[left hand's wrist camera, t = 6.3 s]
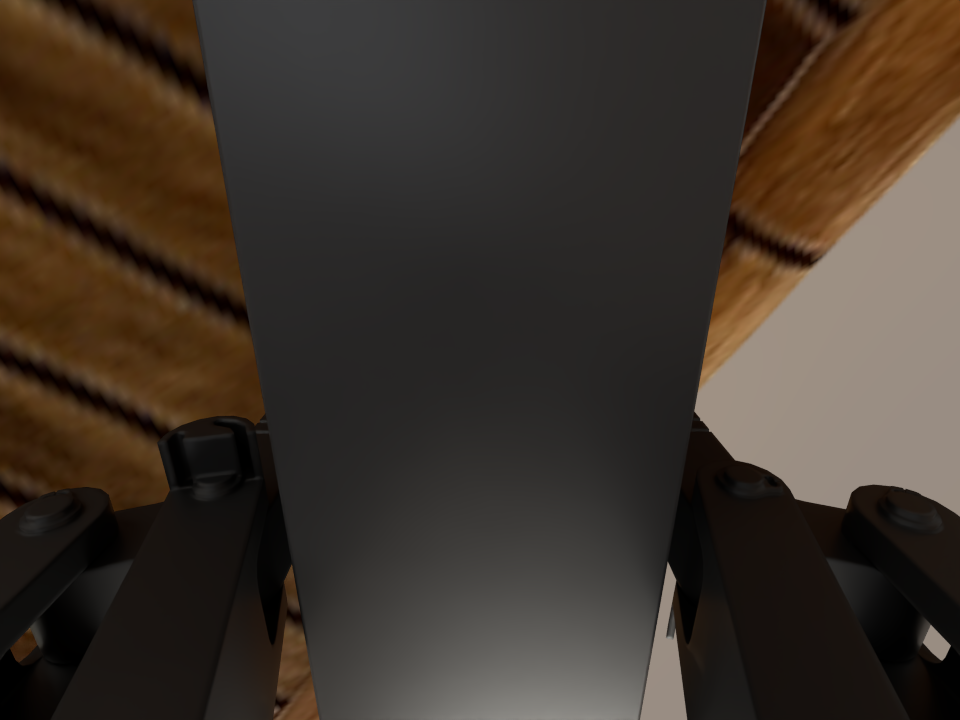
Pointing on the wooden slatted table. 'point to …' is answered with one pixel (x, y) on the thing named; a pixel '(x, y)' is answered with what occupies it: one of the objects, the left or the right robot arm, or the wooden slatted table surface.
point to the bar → (479, 325)
